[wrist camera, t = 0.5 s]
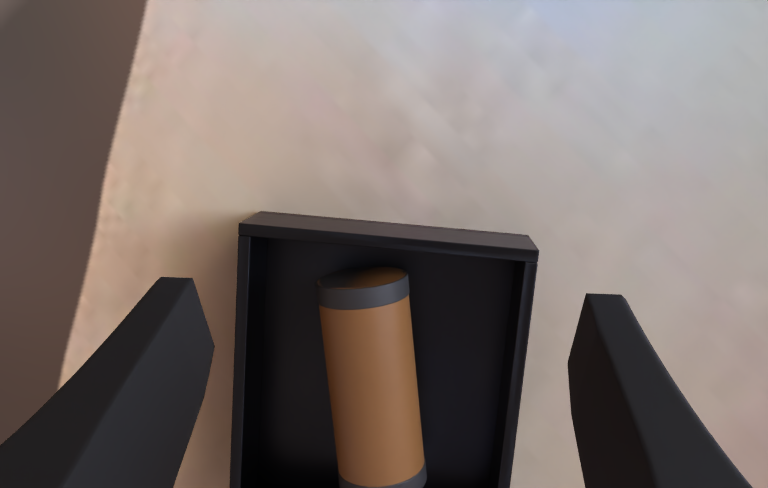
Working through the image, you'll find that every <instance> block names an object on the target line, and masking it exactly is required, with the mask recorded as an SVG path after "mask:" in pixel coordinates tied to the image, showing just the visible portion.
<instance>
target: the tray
mask: <svg viewBox="0 0 768 488" xmlns="http://www.w3.org/2000/svg"><path fill="white" fill-rule="evenodd" d="M238 234H239V236H238V263H237V292H236V320H235V349H234V377H233V406H232V434H231V462H230V488H340V487H339V478H338V462H337V453H336V445H335V436H334V428H333V420H332V411H331V403H330V394H329V386H328V378H327V369H326V361H325V352H324V344H323V336H322V327H321V319H320V310H319V304H318V302H317V294H316V286H315V283H316V281H317V280H318V279H319V278H321V277H323V276H325V275H328V274H331V273H334V272H338V271H343V270H348V269H354V268H363V267H394V268H400V269H403V270H405V271H407V273H408V280H409V291H410V292H409V301H410V312H411V323H412V333H413V344H414V355H415V365H416V376H417V387H418V397H419V408H420V419H421V429H422V440H423V451H424V458H425V462H426V472H427V480H426V483H425V485H424V486H423V488H510V481H511V473H512V465H513V457H514V449H515V441H516V433H517V425H518V417H519V409H520V401H521V392H522V384H523V376H524V368H525V360H526V352H527V344H528V336H529V328H530V320H531V312H532V304H533V296H534V288H535V280H536V272H537V262H538V256H539V250H538V249H537V247H536V246H535V244H534V243H533V241H532V240H531V239H530V237H529V236H528V235H521V234H510V233H499V232H487V231H476V230H465V229H454V228H443V227H432V226H420V225H409V224H398V223H387V222H376V221H365V220H353V219H342V218H331V217H320V216H309V215H298V214H286V213H275V212H264V211H260V212H259V213H257V214H255V215H253V216H251V217H249V218H248V219H246V220H244V221H242V222H240V223H239V232H238Z"/></svg>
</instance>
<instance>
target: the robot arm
mask: <svg viewBox="0 0 768 488" xmlns="http://www.w3.org/2000/svg"><path fill="white" fill-rule="evenodd" d="M214 347H215V346H214V343H213V340H212V337H211V334H210V331H209V327H208V324H207V321H206V318H205V315H204V312H203V309H202V306H201V303H200V299H199V296H198V293H197V290H196V287H195V284H194V281H193V278H176V277H160V278H159V279H158V280H157V281H156V282H155V283H154V285H153V286H152V287H151V288H150V289H149V290H148V292H147V293H146V294H145V295H144V296H143V297H142V299H141V300H140V301H139V302H138V303H137V305H136V306H135V307H134V308H133V309H132V310H131V312H130V313H129V314H128V315H127V316H126V317H125V319H124V320H123V321H122V322H121V323H120V324H119V325H118V327H117V328H116V329H115V330H114V331H113V332H112V333H111V335H110V336H109V337H108V338H107V339H106V340H105V341H104V342H103V344H102V345H101V346H100V347H99V348H98V349H97V350H96V351H95V352H94V353H93V355H92V356H91V357H90V358H89V359H88V360H87V361H86V362H85V363H84V364H83V366H82V367H81V368H80V369H79V370H78V371H77V372H76V373H75V374H74V375H73V376H72V377H71V378H70V379H69V380H68V381H67V382H66V383H65V384H64V385H63V386H62V387H61V388H60V389H59V390H58V391H57V392H56V393H55V394H54V395H53V396H52V397H51V399H49V400H48V401H47V402H46V403H45V404H44V405H43V407H41V408H40V409H39V410H38V412H36V413H35V414H34V415H33V416H32V417H31V418H30V419H29V420H28V421H27V422H26V423H25V424H24V425H22V426H21V427H20V428H19V429H18V430H17V431H16V432H15V433H14V434H13V435H12V436H10V437H9V438H8V439H7V440H6V441H5V442H4V443H3V444H1V445H0V488H173V486H174V483H175V480H176V477H177V474H178V471H179V468H180V465H181V463H182V460H183V457H184V454H185V451H186V448H187V445H188V443H189V440H190V437H191V434H192V431H193V428H194V425H195V422H196V419H197V416H198V413H199V410H200V407H201V404H202V401H203V398H204V395H205V390H206V386H207V381H208V377H209V372H210V367H211V362H212V357H213V352H214ZM568 375H569V390H570V402H571V414H572V420H573V426H574V431H575V436H576V441H577V447H578V452H579V457H580V462H581V467H582V472H583V478H584V483H585V488H753V487H752V486H751V485H750V484H749V483H748V482H747V480H746V479H745V478H744V477H743V475H742V474H741V473H740V472H739V470H738V469H737V468H736V467H735V466H734V464H733V463H732V462H731V460H730V459H729V458H728V457H727V455H726V454H725V453H724V451H723V450H722V449H721V447H720V446H719V445H718V443H717V442H716V441H715V439H714V438H713V437H712V435H711V434H710V433H709V431H708V430H707V429H706V427H705V426H704V425H703V423H702V422H701V420H700V419H699V417H698V416H697V415H696V413H695V412H694V410H693V409H692V407H691V406H690V405H689V403H688V402H687V400H686V399H685V397H684V396H683V394H682V393H681V391H680V390H679V388H678V387H677V385H676V384H675V382H674V381H673V379H672V378H671V376H670V374H669V373H668V371H667V370H666V368H665V367H664V365H663V363H662V362H661V360H660V358H659V357H658V355H657V354H656V352H655V350H654V349H653V347H652V345H651V344H650V342H649V340H648V339H647V337H646V335H645V333H644V332H643V330H642V328H641V326H640V325H639V323H638V321H637V319H636V317H635V316H634V314H633V312H632V310H631V308H630V307H629V305H628V303H627V301H626V299H625V298H624V297H623V296H622V295H613V294H588V293H586V296H585V299H584V303H583V307H582V311H581V315H580V318H579V322H578V326H577V330H576V333H575V337H574V341H573V345H572V348H571V352H570V356H569V360H568Z"/></svg>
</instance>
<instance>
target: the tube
mask: <svg viewBox="0 0 768 488" xmlns="http://www.w3.org/2000/svg"><path fill="white" fill-rule="evenodd" d="M315 286H316V294H317V302H318V304H319V310H320V319H321V327H322V336H323V344H324V352H325V361H326V369H327V378H328V386H329V394H330V403H331V411H332V420H333V428H334V436H335V445H336V453H337V462H338V478H339V487H340V488H423V486H424V485H425V483H426V480H427V472H426V462H425V458H424V451H423V440H422V429H421V419H420V408H419V397H418V387H417V376H416V365H415V355H414V344H413V333H412V323H411V312H410V301H409V292H410V291H409V280H408V273H407V271H405V270H403V269H400V268H394V267H363V268H354V269H348V270H343V271H338V272H334V273H331V274H328V275H325V276H323V277H321V278H319V279H318V280H317V281H316V283H315Z"/></svg>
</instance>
